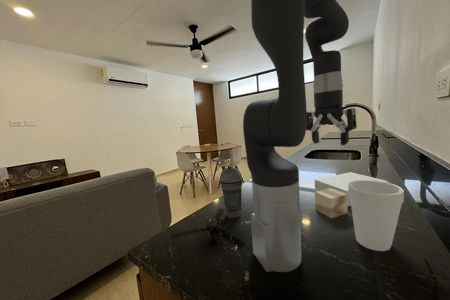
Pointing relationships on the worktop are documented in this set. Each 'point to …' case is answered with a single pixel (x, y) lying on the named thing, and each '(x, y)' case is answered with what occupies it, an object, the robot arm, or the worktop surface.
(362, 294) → the worktop surface
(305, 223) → the worktop surface
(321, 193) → the maple block
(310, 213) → the worktop surface
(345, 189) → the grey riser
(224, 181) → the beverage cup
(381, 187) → the foam cup
